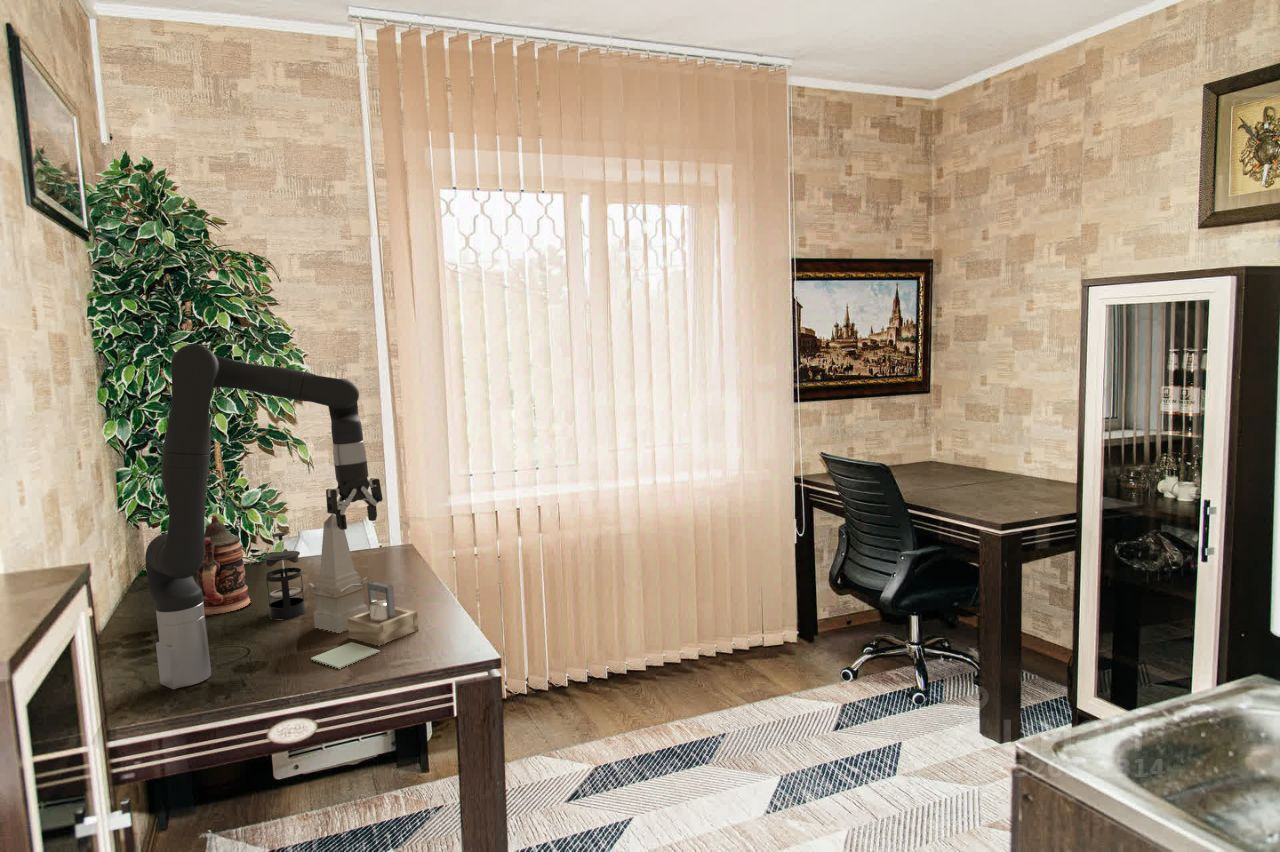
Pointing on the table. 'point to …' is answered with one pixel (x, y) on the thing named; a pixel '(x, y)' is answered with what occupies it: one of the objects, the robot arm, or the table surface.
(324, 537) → the miniature monument
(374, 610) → the pail
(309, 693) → the table surface
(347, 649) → the mat
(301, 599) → the french press
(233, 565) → the beer stein
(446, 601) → the table surface
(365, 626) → the holder
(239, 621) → the table surface
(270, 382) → the robot arm
